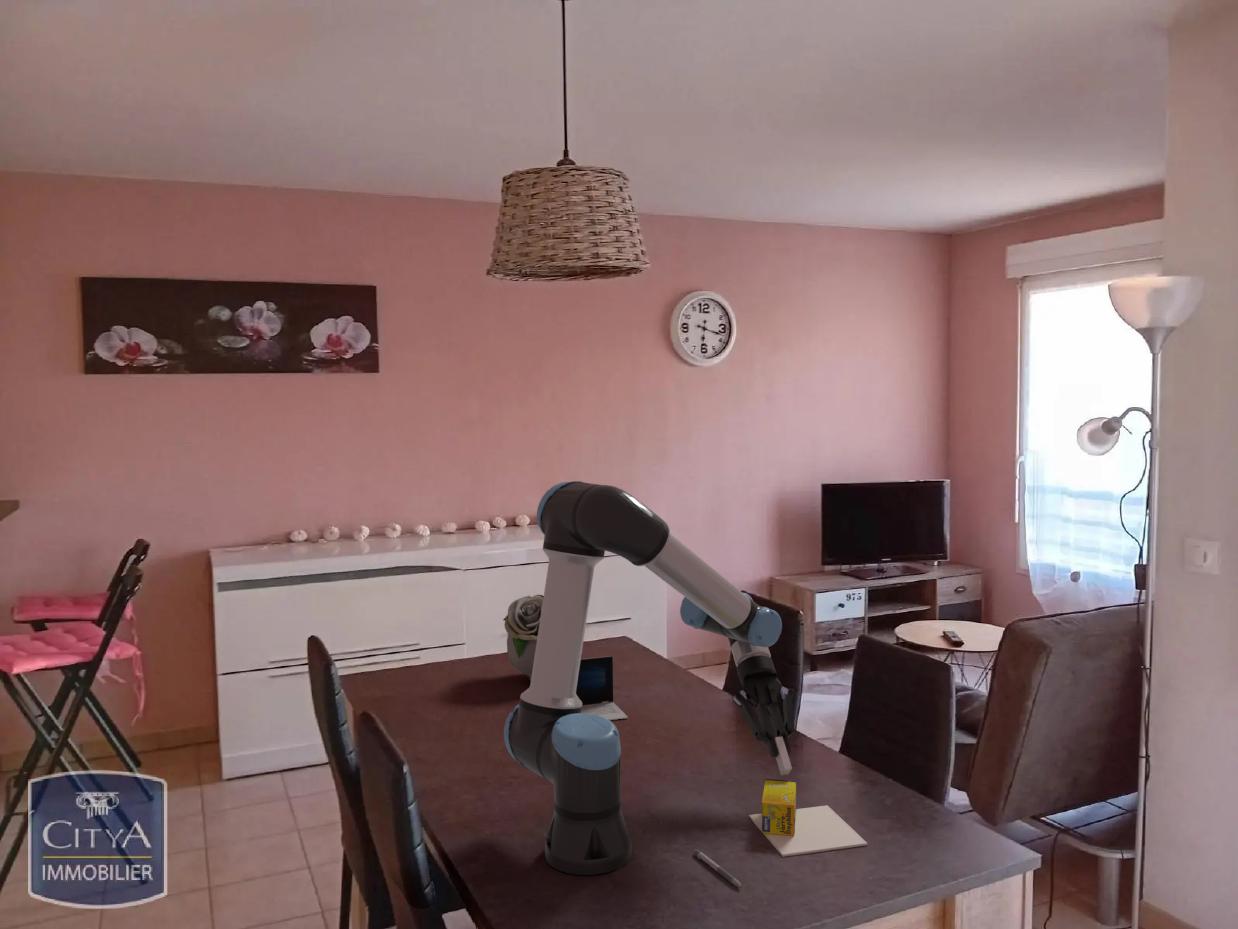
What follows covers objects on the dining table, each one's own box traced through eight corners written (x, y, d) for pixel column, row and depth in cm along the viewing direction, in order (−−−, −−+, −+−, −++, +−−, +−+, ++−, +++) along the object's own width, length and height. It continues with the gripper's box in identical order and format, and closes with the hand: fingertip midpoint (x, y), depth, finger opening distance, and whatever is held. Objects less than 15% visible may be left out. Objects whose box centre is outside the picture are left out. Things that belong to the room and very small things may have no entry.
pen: (697, 855, 167) (697, 847, 167) (743, 891, 155) (743, 882, 154) (692, 856, 166) (692, 848, 166) (738, 892, 154) (738, 884, 154)
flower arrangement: (494, 694, 257) (492, 604, 255) (508, 667, 282) (506, 585, 280) (586, 693, 256) (584, 604, 254) (592, 667, 281) (590, 585, 279)
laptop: (557, 729, 231) (556, 676, 230) (545, 712, 242) (544, 662, 241) (628, 720, 236) (627, 668, 235) (613, 704, 248) (612, 655, 247)
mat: (867, 845, 169) (867, 843, 169) (782, 856, 165) (782, 854, 165) (827, 807, 184) (827, 805, 184) (749, 817, 180) (749, 815, 180)
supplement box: (797, 810, 182) (794, 837, 171) (765, 808, 183) (761, 834, 173) (796, 780, 182) (794, 804, 171) (765, 778, 183) (760, 802, 172)
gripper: (778, 669, 202) (812, 776, 187) (719, 674, 199) (749, 783, 184) (788, 651, 197) (823, 760, 182) (728, 656, 194) (759, 767, 179)
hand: (786, 771), depth 183 cm, fingers closed
